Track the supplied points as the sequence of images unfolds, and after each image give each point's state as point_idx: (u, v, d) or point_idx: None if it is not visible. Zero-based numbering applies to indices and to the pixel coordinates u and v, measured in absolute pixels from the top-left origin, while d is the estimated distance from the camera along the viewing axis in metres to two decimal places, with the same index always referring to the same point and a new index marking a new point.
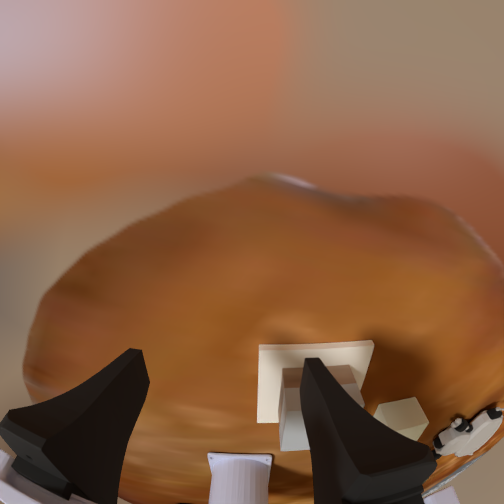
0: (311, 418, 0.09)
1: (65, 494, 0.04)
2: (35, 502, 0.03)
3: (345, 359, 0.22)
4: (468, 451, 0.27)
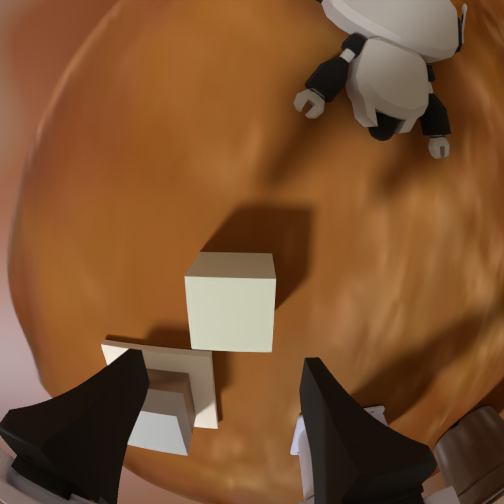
0: (311, 418, 0.09)
1: (65, 494, 0.04)
2: (35, 502, 0.03)
3: None
4: (444, 22, 0.10)
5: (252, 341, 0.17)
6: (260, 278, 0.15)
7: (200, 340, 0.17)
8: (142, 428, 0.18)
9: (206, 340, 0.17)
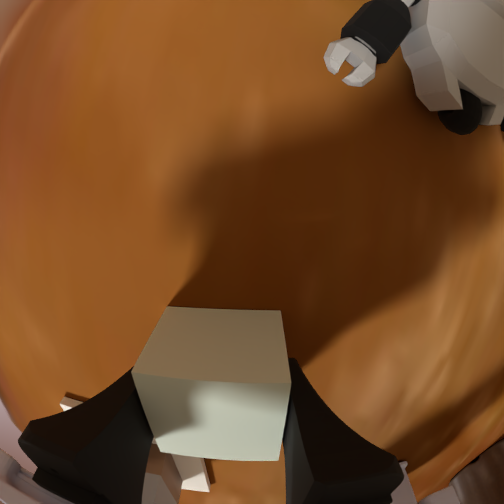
0: None
1: (65, 494, 0.04)
2: (35, 502, 0.03)
3: None
4: None
5: (249, 451, 0.09)
6: (263, 382, 0.08)
7: (171, 445, 0.09)
8: None
9: (179, 446, 0.09)
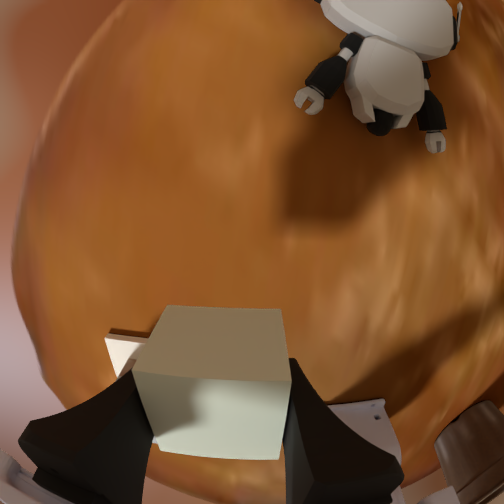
0: None
1: (65, 494, 0.04)
2: (35, 502, 0.03)
3: (123, 361, 0.23)
4: (440, 20, 0.11)
5: (249, 450, 0.09)
6: (263, 379, 0.08)
7: (171, 444, 0.09)
8: None
9: (180, 445, 0.09)
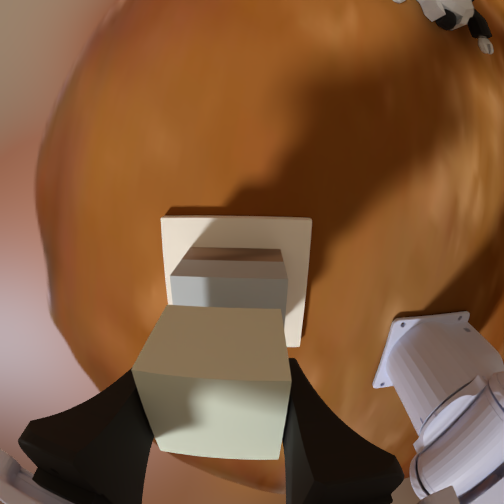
0: None
1: (65, 494, 0.04)
2: (35, 502, 0.03)
3: (181, 253, 0.19)
4: None
5: (249, 450, 0.09)
6: (263, 379, 0.08)
7: (171, 444, 0.09)
8: None
9: (180, 445, 0.09)
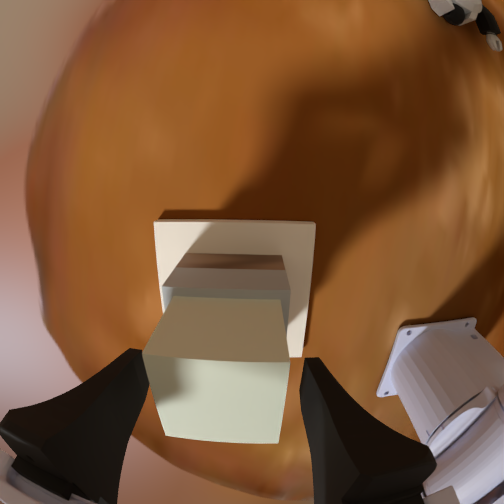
0: (311, 418, 0.09)
1: (65, 494, 0.04)
2: (35, 502, 0.03)
3: (175, 259, 0.18)
4: None
5: (251, 433, 0.10)
6: (264, 361, 0.09)
7: (176, 428, 0.10)
8: None
9: (184, 429, 0.10)
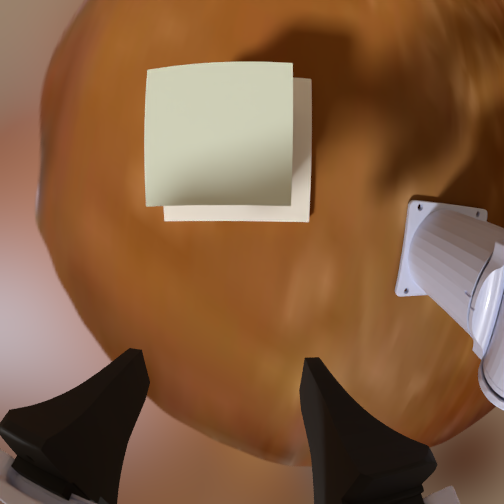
0: (311, 418, 0.09)
1: (65, 494, 0.04)
2: (35, 502, 0.03)
3: None
4: None
5: (255, 180, 0.09)
6: (267, 62, 0.08)
7: (161, 185, 0.09)
8: None
9: (172, 184, 0.09)
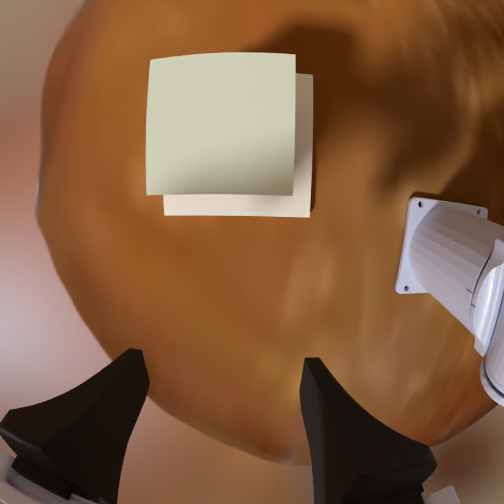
0: (311, 418, 0.09)
1: (65, 494, 0.04)
2: (35, 502, 0.03)
3: None
4: None
5: (257, 170, 0.09)
6: (270, 53, 0.08)
7: (162, 174, 0.09)
8: None
9: (173, 172, 0.09)
